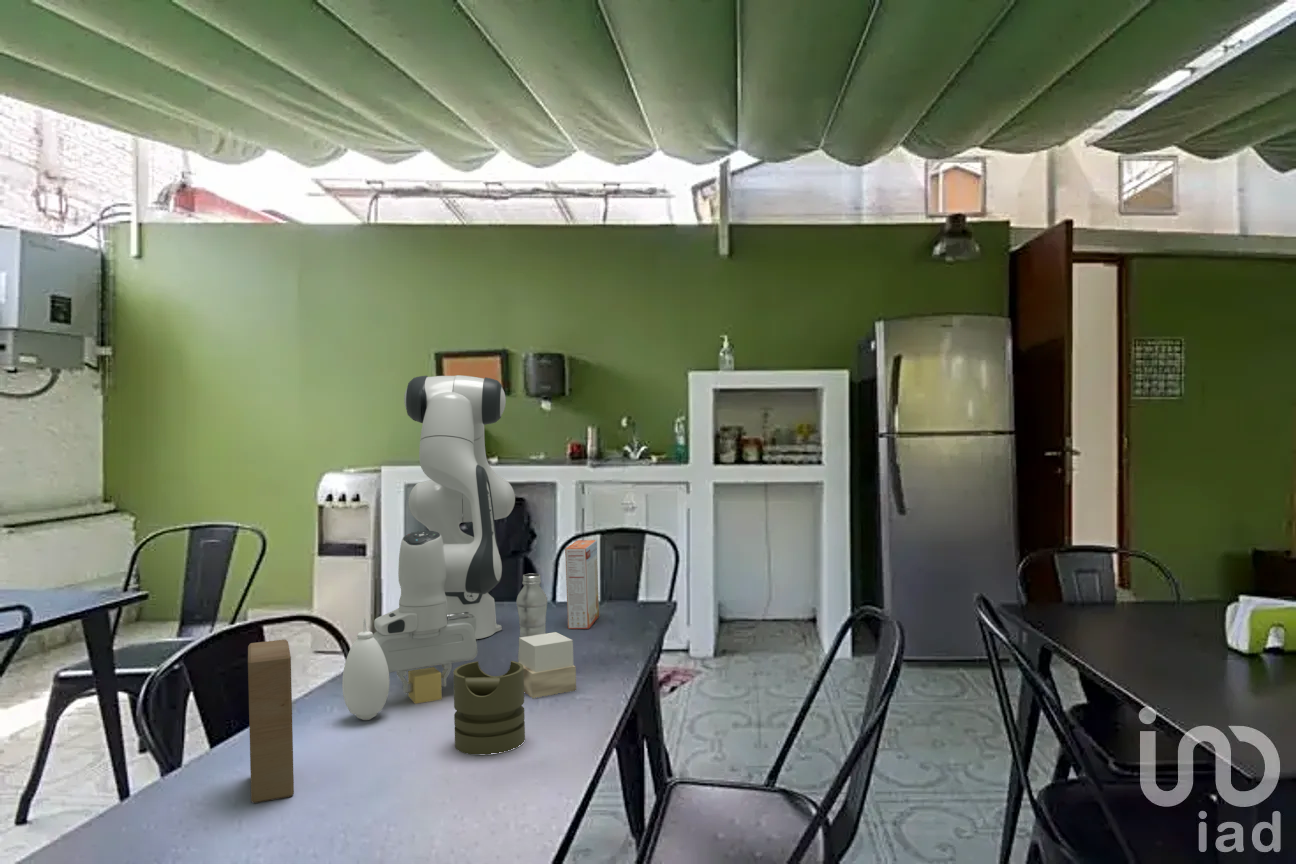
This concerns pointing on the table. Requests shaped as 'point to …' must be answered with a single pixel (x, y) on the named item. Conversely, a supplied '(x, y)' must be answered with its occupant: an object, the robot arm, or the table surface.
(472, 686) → the piston
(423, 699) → the mustard cube
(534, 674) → the birch tower base
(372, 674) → the air blower bulb
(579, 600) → the cracker box
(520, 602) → the plastic bottle
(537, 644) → the painted tower top
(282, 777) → the decorative block
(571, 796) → the table surface
